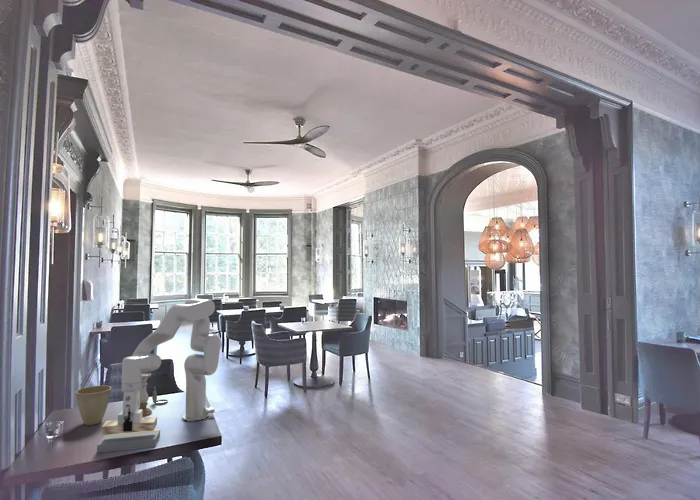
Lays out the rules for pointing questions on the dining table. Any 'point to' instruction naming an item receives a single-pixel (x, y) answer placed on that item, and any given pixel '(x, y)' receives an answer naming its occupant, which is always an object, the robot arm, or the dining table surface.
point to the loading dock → (128, 441)
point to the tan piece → (144, 425)
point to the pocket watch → (154, 397)
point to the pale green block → (121, 418)
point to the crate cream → (137, 416)
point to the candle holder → (144, 395)
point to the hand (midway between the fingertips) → (129, 427)
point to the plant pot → (93, 403)
